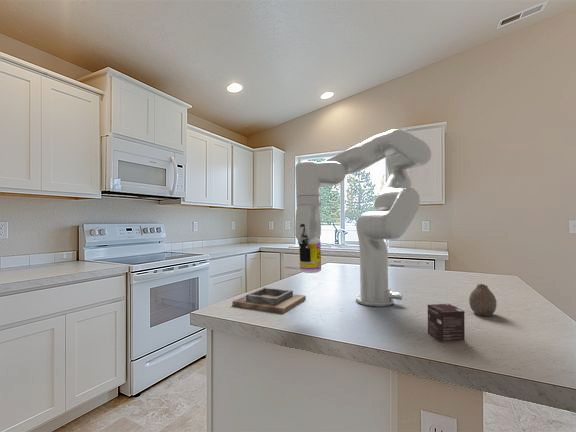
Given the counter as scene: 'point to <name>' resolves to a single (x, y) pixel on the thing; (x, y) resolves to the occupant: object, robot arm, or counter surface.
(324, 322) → the counter surface
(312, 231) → the robot arm
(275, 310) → the board
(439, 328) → the box
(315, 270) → the supplement bottle
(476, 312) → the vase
